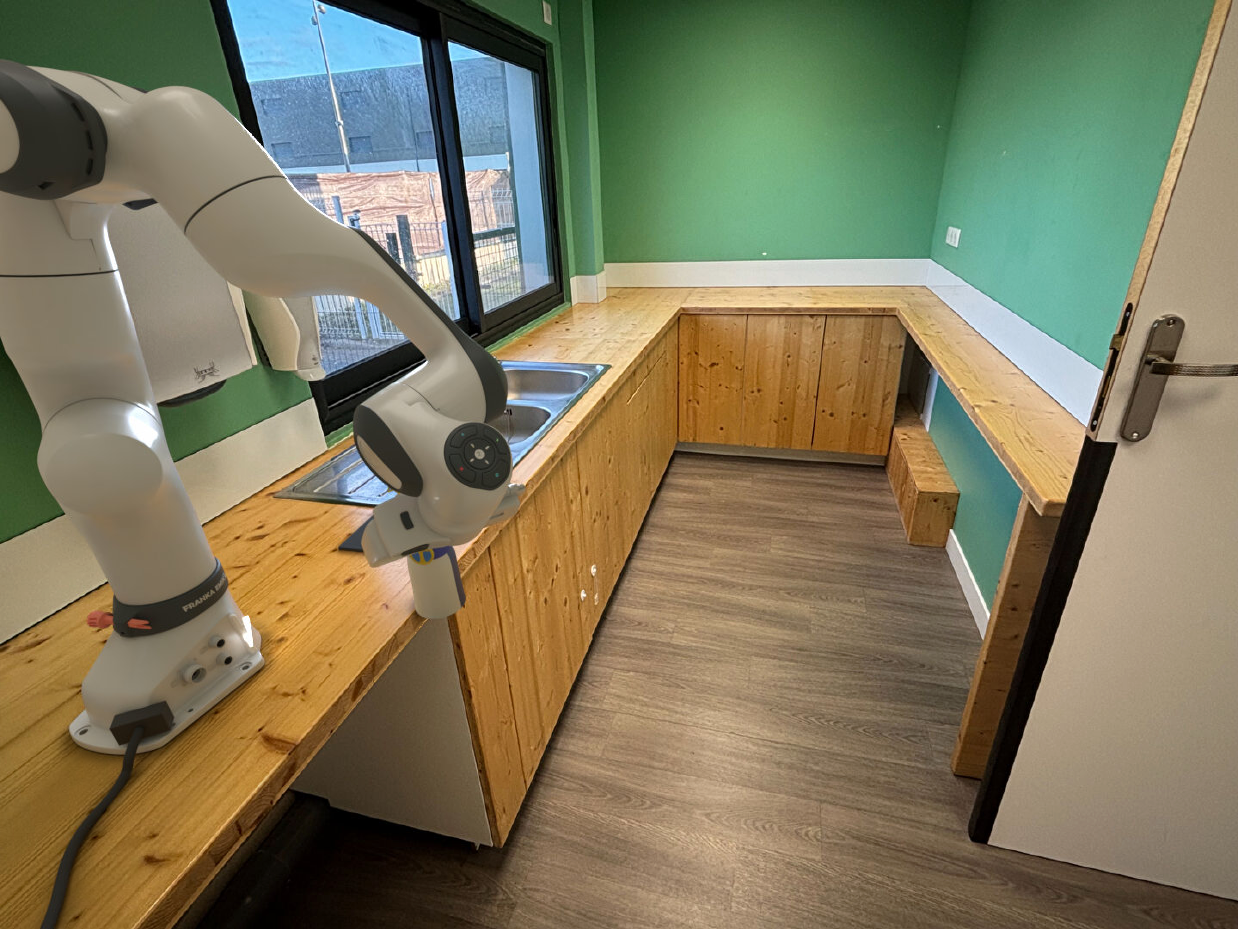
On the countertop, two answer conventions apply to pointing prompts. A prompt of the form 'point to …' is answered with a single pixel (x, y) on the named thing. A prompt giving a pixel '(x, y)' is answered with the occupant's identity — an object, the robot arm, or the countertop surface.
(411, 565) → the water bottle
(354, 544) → the mat
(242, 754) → the countertop surface
